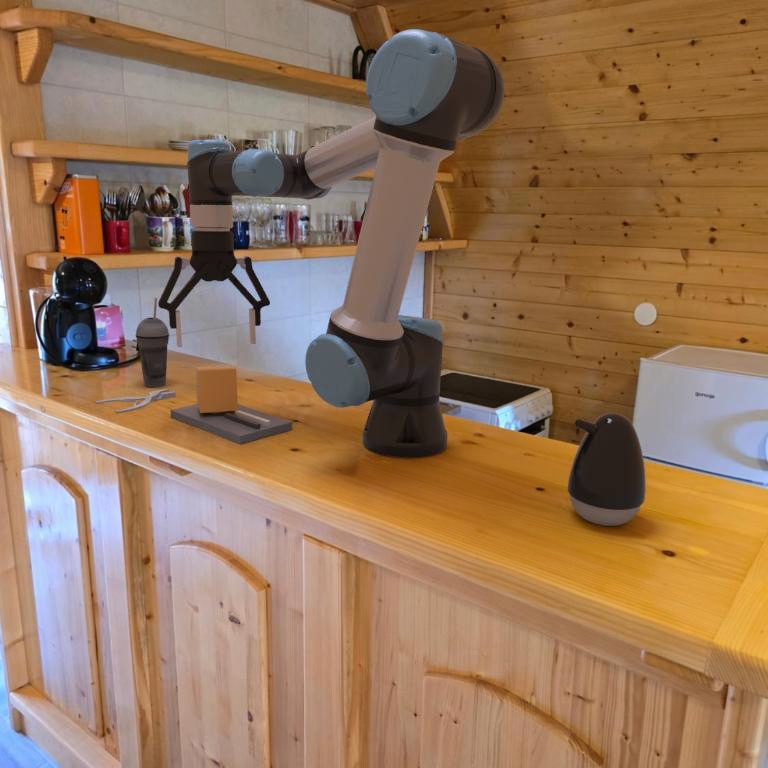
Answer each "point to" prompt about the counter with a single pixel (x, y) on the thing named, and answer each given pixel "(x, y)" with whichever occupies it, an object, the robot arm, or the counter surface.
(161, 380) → the beverage cup
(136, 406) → the pliers
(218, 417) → the plate
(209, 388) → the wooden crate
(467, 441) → the counter surface
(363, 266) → the robot arm
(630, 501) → the pump dispenser
